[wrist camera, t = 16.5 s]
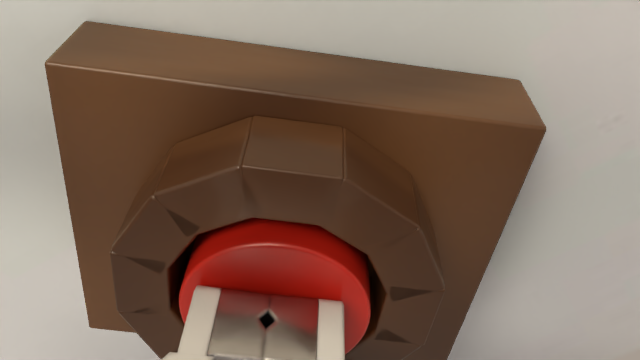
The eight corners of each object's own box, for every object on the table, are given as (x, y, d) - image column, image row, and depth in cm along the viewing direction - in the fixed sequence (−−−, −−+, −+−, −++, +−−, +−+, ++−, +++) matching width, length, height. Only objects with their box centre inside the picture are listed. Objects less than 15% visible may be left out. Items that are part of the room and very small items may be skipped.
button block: (521, 79, 13) (578, 181, 10) (434, 307, 18) (455, 426, 15) (84, 19, 13) (-3, 107, 9) (114, 270, 17) (63, 386, 14)
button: (383, 200, 12) (388, 257, 11) (352, 321, 14) (353, 381, 13) (195, 177, 12) (176, 233, 10) (195, 303, 14) (179, 363, 13)
